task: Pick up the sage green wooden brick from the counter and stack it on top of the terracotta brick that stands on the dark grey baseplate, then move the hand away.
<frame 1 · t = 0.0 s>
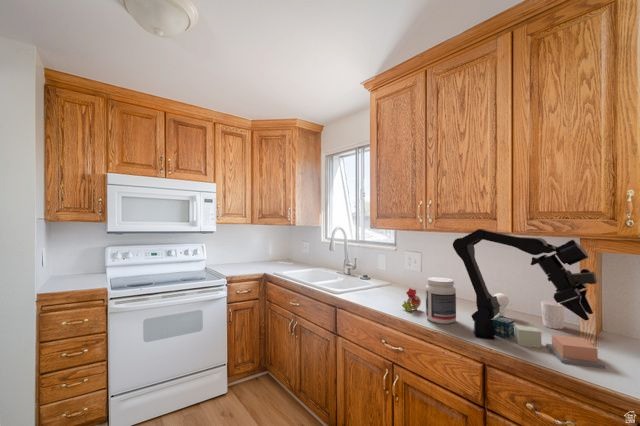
hand: (589, 316, 94), 15 cm above the worktop, tool tilted 35°, fingers open, 9 cm apart
white cup: (552, 326, 128), on the worktop
brick base: (573, 356, 99), on the worktop
light bulb: (500, 317, 140), on the worktop
puzzle: (503, 335, 118), on the worktop
supplement tub: (440, 320, 135), on the worktop
sage brick: (527, 344, 110), on the worktop
bird rattle: (411, 310, 150), on the worktop
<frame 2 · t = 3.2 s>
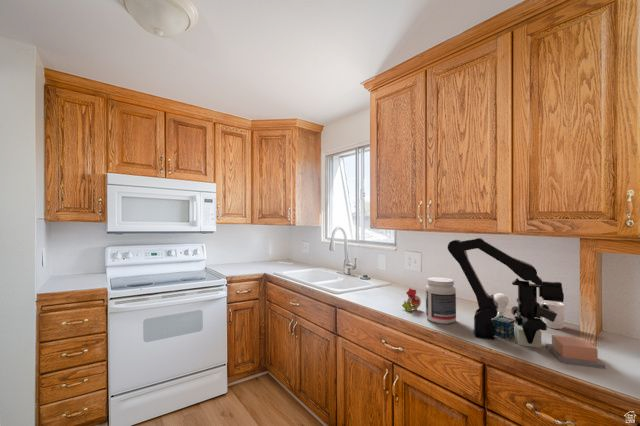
hand: (527, 340, 110), 1 cm above the worktop, tool pointing down, fingers closed on sage brick, 5 cm apart
sage brick: (527, 343, 110), on the worktop, touching gripper
everything else where it was.
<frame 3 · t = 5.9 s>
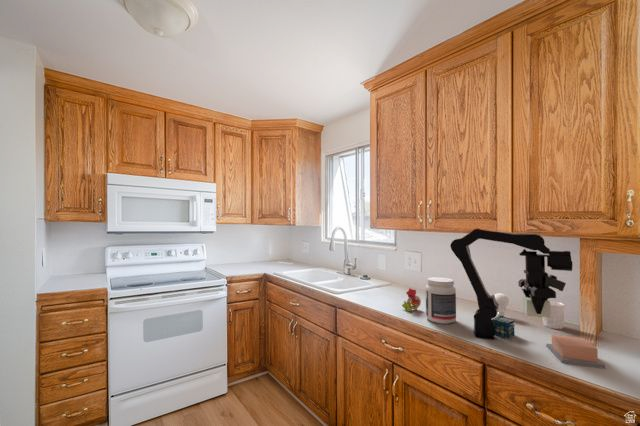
hand: (536, 311, 108), 12 cm above the worktop, tool pointing down, fingers closed on sage brick, 5 cm apart
sage brick: (536, 314, 108), point 11 cm above the worktop, touching gripper
everything else where it was.
when the fingers open (7 cm above the worktop, at t = 8.5 s): sage brick drops 1 cm, resting on brick base.
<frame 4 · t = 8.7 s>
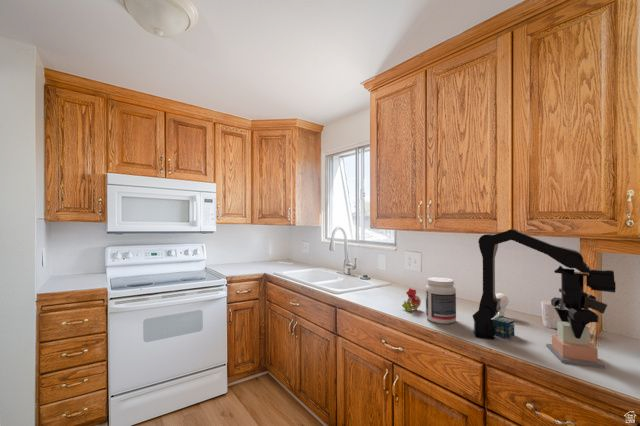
hand: (573, 334, 99), 7 cm above the worktop, tool pointing down, fingers open, 6 cm apart
sage brick: (573, 341, 99), point 5 cm above the worktop, touching brick base
everything else where it was.
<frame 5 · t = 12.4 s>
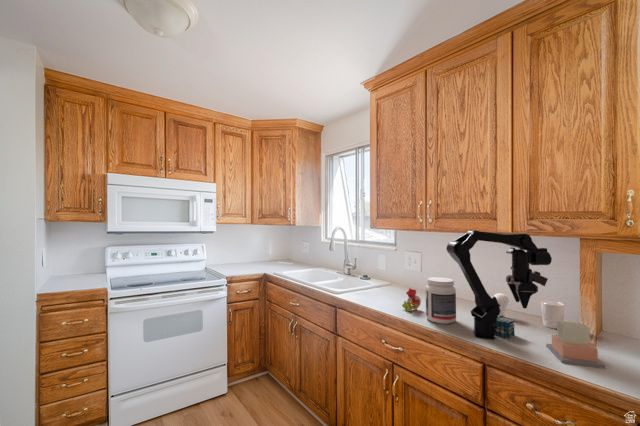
hand: (521, 305, 117), 12 cm above the worktop, tool pointing down, fingers open, 9 cm apart
nothing on the worktop moved.
at the end: sage brick 0.0 cm off-centre on the brick base, point 5.0 cm above the brick base's base; sage brick tilted 0°; the gripper is holding nothing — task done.
